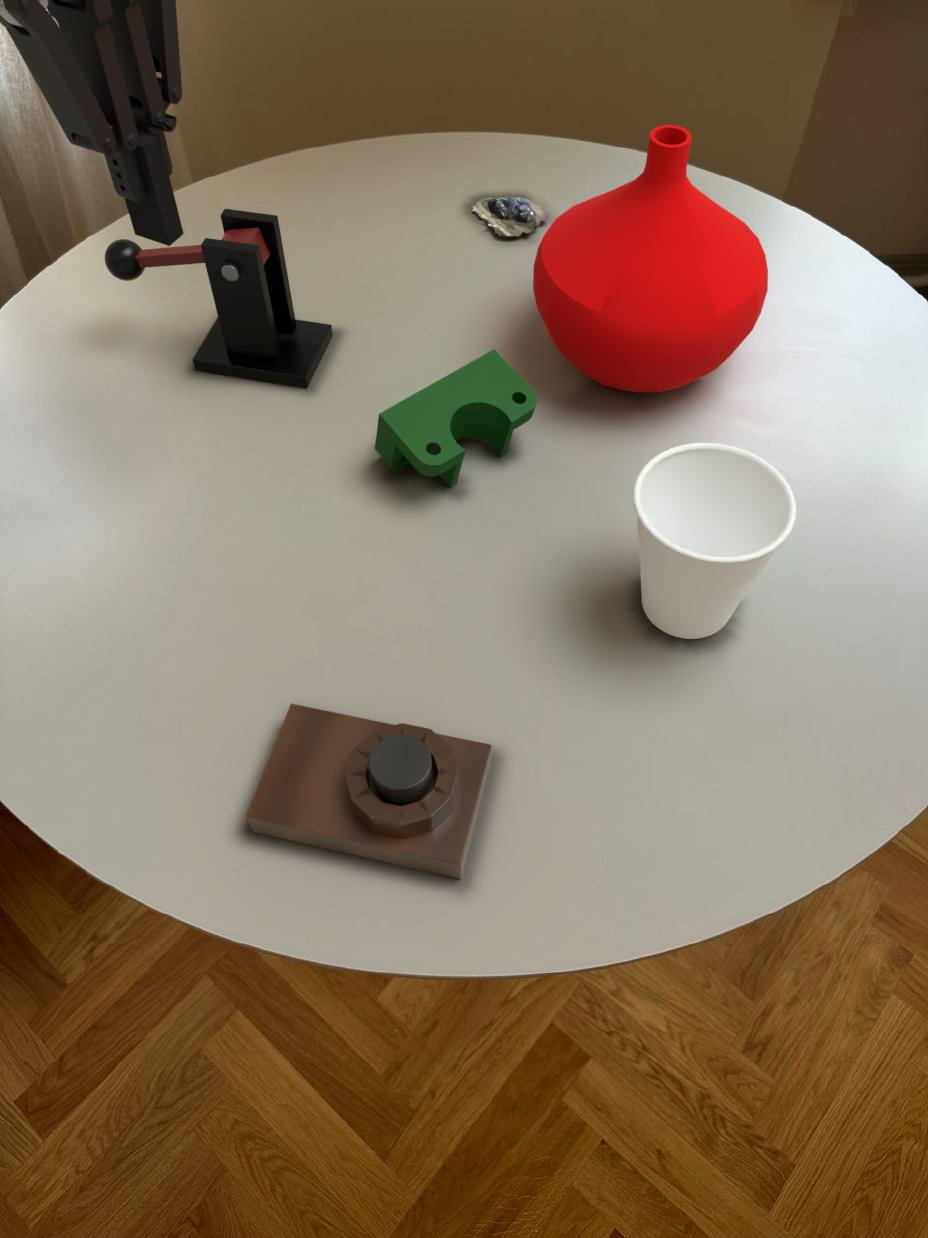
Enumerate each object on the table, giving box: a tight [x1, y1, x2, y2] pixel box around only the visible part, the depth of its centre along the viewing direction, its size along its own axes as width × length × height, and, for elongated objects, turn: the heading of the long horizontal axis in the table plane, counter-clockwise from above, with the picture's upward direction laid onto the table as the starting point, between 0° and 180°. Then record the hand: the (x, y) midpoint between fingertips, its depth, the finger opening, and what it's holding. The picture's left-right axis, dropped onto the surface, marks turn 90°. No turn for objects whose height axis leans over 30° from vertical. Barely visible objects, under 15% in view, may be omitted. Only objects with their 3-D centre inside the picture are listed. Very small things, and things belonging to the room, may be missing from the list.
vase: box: [532, 124, 769, 394], centre depth 81 cm, size 18×18×19 cm
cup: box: [632, 442, 797, 640], centre depth 68 cm, size 10×10×11 cm
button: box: [369, 734, 433, 803], centre depth 60 cm, size 4×4×2 cm
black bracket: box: [192, 208, 334, 389], centre depth 84 cm, size 10×7×12 cm
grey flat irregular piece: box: [471, 196, 551, 238], centre depth 99 cm, size 7×8×2 cm
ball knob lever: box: [104, 228, 270, 282], centre depth 83 cm, size 14×3×3 cm, turn 76°
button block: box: [246, 703, 492, 880], centre depth 62 cm, size 13×8×4 cm, turn 76°
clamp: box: [374, 348, 538, 488], centre depth 79 cm, size 12×6×9 cm, turn 124°
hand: (159, 233), depth 66 cm, fingers closed
